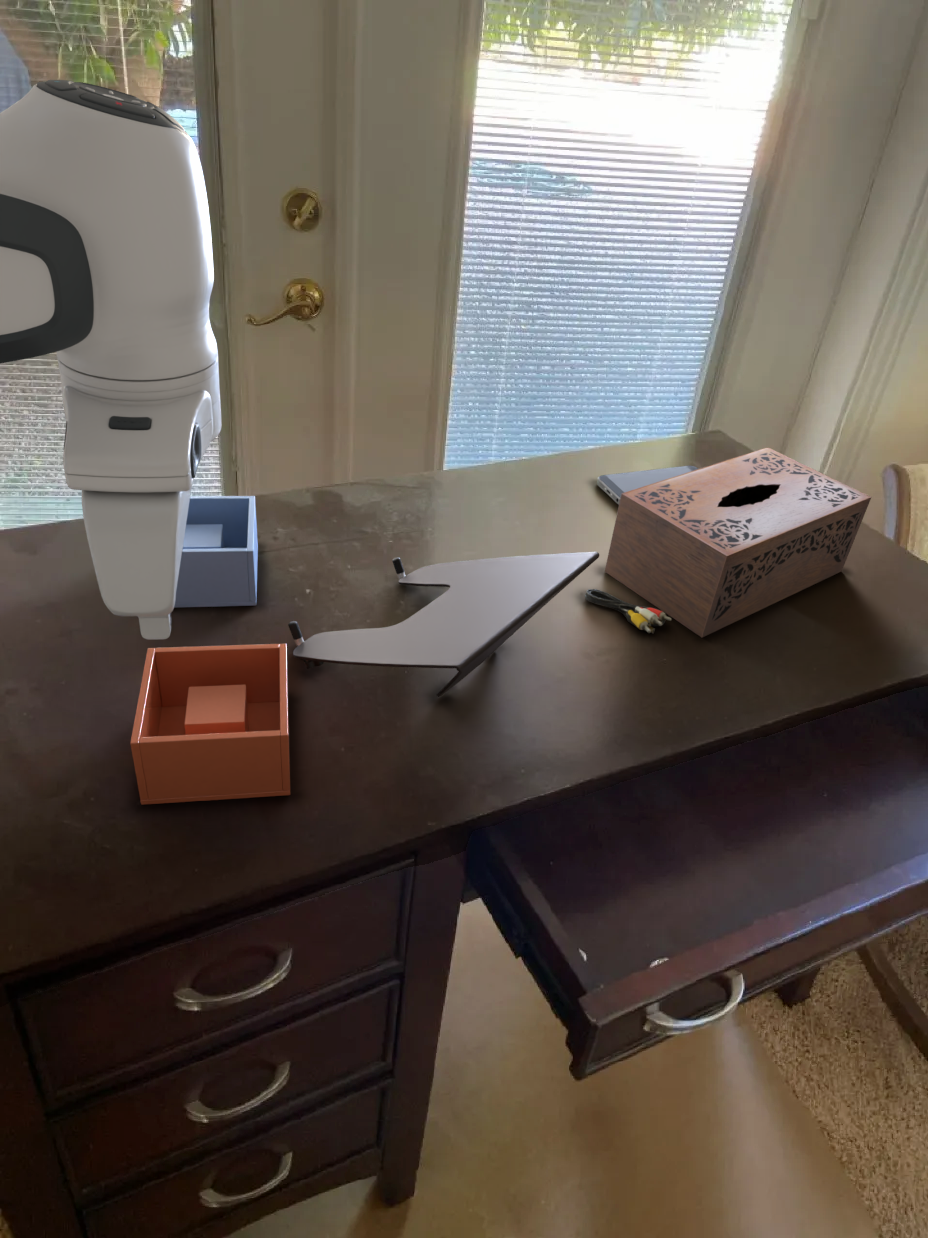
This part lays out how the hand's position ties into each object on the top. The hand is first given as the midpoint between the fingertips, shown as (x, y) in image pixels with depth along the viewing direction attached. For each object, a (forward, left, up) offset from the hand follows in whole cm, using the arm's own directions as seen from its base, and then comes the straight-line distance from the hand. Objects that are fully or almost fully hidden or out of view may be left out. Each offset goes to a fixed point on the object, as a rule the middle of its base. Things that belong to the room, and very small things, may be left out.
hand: (164, 591), depth 61 cm
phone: (+57, +47, -17) cm, 76 cm away
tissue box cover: (+58, +27, -17) cm, 67 cm away
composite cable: (+44, +19, -17) cm, 51 cm away
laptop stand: (+21, +14, -17) cm, 31 cm away
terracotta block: (+3, +2, -17) cm, 17 cm away
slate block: (0, +28, -17) cm, 33 cm away
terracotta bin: (+2, +2, -17) cm, 18 cm away
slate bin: (-1, +28, -17) cm, 33 cm away
